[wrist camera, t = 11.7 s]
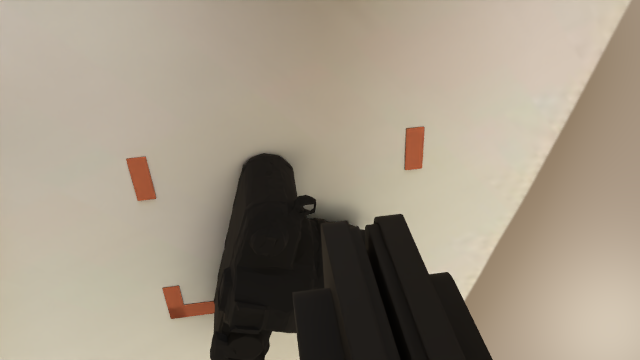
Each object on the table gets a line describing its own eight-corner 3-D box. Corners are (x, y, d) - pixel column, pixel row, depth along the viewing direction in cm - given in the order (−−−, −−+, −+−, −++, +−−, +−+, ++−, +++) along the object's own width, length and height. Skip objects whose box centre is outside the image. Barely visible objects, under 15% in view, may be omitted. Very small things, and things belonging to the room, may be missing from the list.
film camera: (322, 319, 45) (340, 417, 38) (203, 307, 43) (197, 409, 35) (381, 162, 38) (418, 245, 30) (241, 137, 35) (243, 220, 28)
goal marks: (126, 158, 35) (126, 159, 35) (424, 126, 37) (424, 127, 37) (171, 317, 43) (170, 319, 43) (414, 285, 44) (415, 286, 44)
